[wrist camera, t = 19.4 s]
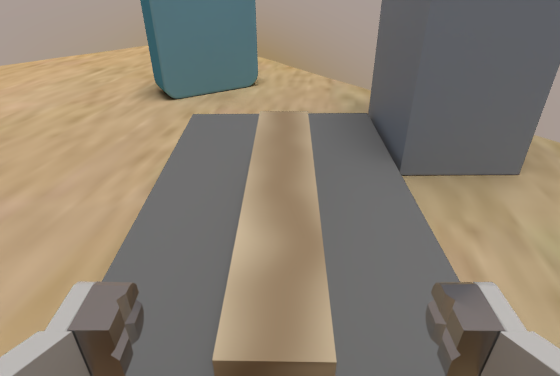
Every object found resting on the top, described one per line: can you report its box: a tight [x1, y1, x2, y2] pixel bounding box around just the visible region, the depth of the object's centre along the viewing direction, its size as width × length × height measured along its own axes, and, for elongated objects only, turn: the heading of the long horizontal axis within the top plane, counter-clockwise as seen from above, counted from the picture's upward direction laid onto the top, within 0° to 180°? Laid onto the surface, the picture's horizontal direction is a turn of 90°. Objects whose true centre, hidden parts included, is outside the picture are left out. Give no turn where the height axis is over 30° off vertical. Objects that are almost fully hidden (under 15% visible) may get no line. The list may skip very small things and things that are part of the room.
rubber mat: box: [102, 113, 460, 376], centre depth 25 cm, size 17×30×1 cm, turn 0°
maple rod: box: [212, 111, 337, 376], centre depth 20 cm, size 4×20×4 cm, turn 179°
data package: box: [140, 0, 258, 99], centre depth 45 cm, size 12×4×12 cm, turn 120°
